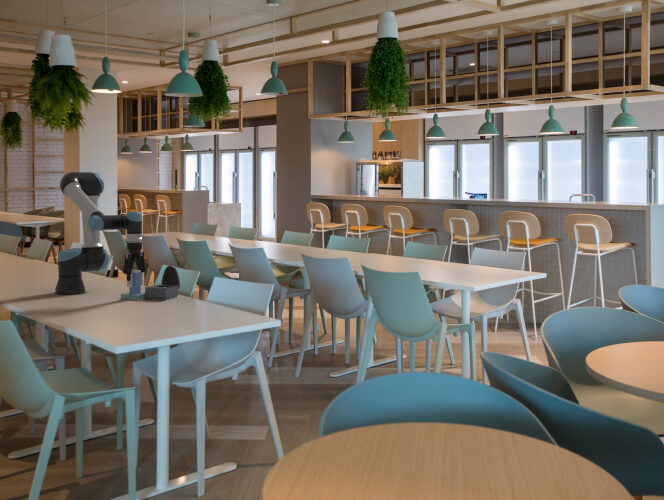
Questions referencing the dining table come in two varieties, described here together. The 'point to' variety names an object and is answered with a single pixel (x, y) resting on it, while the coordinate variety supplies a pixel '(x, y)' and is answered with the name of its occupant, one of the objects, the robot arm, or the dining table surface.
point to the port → (161, 292)
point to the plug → (135, 282)
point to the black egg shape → (170, 277)
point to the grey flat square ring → (133, 296)
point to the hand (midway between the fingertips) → (134, 285)
